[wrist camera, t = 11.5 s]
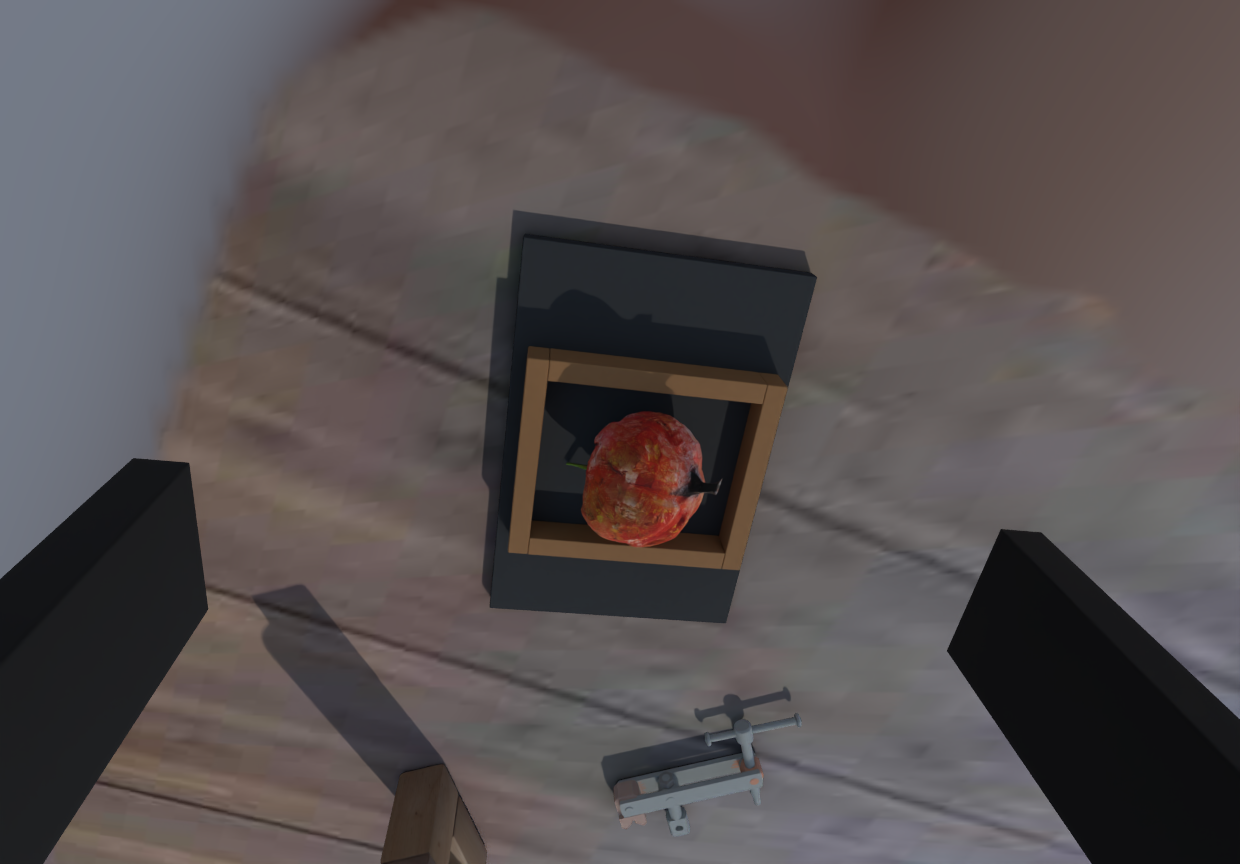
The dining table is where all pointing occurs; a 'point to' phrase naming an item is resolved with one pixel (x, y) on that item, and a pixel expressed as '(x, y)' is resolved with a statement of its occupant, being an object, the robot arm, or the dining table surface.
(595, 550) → the back pad
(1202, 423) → the dining table surface
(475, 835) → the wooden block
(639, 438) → the red round lump
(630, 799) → the clamp
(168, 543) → the robot arm
